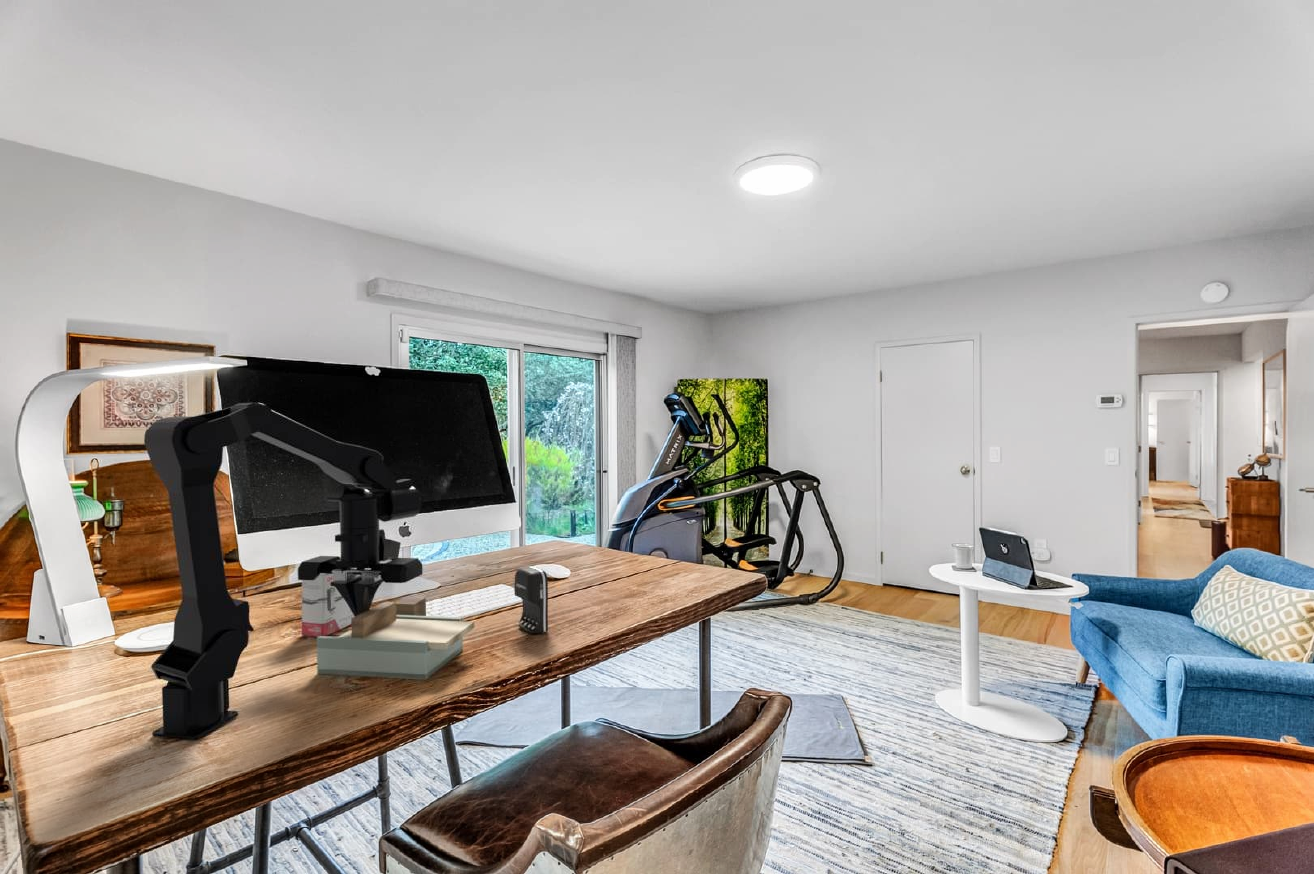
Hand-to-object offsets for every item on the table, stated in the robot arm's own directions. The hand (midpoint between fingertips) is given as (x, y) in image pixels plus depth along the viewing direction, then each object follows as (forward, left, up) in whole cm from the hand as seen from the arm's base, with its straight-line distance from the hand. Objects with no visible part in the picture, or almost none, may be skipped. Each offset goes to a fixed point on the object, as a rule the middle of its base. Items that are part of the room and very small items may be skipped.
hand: (361, 621), depth 100 cm
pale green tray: (0, -6, -6) cm, 8 cm away
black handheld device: (+17, -23, -7) cm, 29 cm away
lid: (0, -8, -2) cm, 9 cm away
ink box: (+13, +16, -7) cm, 21 cm away
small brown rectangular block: (+10, -3, -6) cm, 12 cm away
